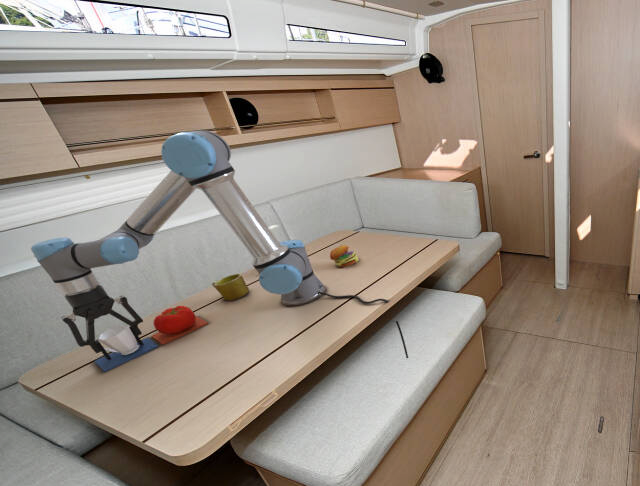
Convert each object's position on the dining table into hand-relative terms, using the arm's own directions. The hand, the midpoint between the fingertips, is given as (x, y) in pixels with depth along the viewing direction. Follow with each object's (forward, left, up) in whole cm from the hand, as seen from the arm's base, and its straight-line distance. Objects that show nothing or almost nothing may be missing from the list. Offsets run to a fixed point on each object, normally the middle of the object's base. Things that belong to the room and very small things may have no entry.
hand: (125, 351), depth 113 cm
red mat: (0, -14, -1) cm, 14 cm away
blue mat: (0, 0, -1) cm, 1 cm away
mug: (+10, -35, -2) cm, 36 cm away
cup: (0, 0, 0) cm, 0 cm away
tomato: (0, -14, -1) cm, 14 cm away
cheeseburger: (-9, -75, -2) cm, 76 cm away
